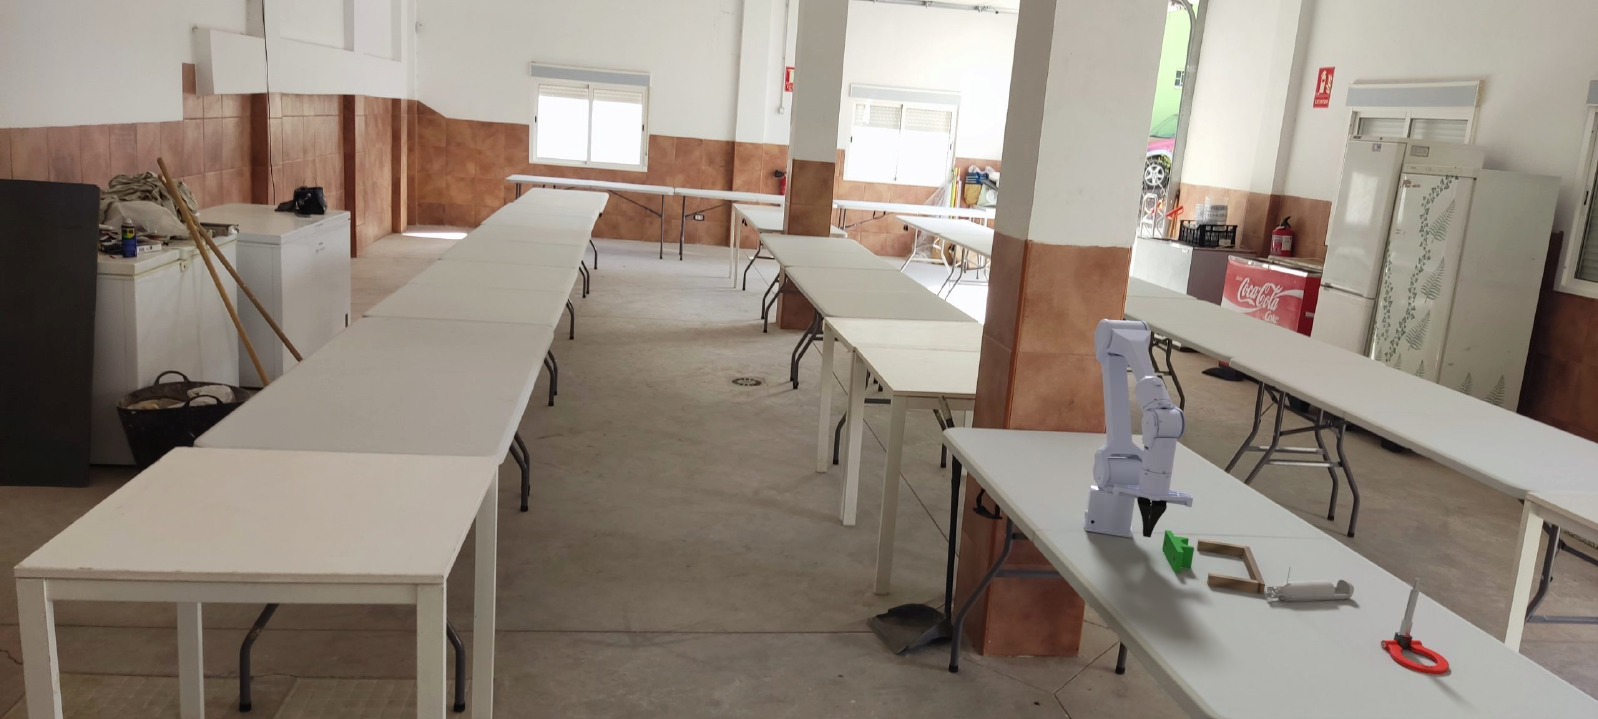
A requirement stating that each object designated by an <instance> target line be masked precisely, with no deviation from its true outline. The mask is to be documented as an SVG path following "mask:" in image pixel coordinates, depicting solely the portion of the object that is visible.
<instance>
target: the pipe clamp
mask: <svg viewBox="0 0 1598 719" xmlns="http://www.w3.org/2000/svg"><path fill="white" fill-rule="evenodd" d="M1162 542H1163V543H1162V548H1161V549H1162V550H1163V551H1162V553H1163V552H1164V553H1163V554H1165V555H1164V556H1166V557H1165V558H1166V560H1167V563H1168V564H1169V565H1171V566H1170V567H1172V568H1171V569H1172V572H1173V573H1174V572H1175V574H1181V571H1182V569H1191V568H1192V563H1193V556H1194V551H1195V547H1194V546H1193V545H1189V537H1183V536H1175V535H1174V533H1173V532H1172V530H1167V529H1165V530H1164V537H1163V541H1162ZM1181 567H1182V568H1181Z"/></svg>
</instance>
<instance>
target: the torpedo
mask: <svg viewBox="0 0 1598 719" xmlns="http://www.w3.org/2000/svg"><path fill="white" fill-rule="evenodd" d="M1288 567H1289V569H1288V574H1287V580H1285V581H1282V582H1281V583H1279V585H1272V586H1267V588H1266V589H1265V588H1264V591H1266V594H1265V598H1266V599H1281V601H1286V602H1309V601H1311V602H1312V601H1313V602H1314V601H1315V602H1316V601H1334V600H1335V601H1336V600H1347V599H1350V598H1351V597H1352V596H1353V594H1354V591H1355V587H1354V585H1353V584H1352V583H1351V582H1350V581H1348V580H1345V579H1339V580H1338V581H1337V583H1336V586H1334V584H1333V583H1332V582H1331V581H1330V580H1327V579H1312V580H1311V579H1310V580H1309V579H1308V580H1290V581H1289V578H1290V572H1291V568H1292V567H1291V566H1288Z"/></svg>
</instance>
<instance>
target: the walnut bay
mask: <svg viewBox="0 0 1598 719" xmlns="http://www.w3.org/2000/svg"><path fill="white" fill-rule="evenodd" d="M1196 544H1197V545H1196V549H1197V551H1200V552H1206V553H1213V554H1219V555H1224V554H1225V555H1226V556H1230V557H1231V556H1232V557H1238V558H1242V560H1243V563H1244V566H1245V568H1246V570H1247V572H1248V573H1247V574H1248V575H1249V578H1250V579H1249V578H1244V577H1236V576H1231V575H1226V574H1225V575H1224V574H1218V573H1212V572H1208V575H1207V579H1206V580H1207V582H1206V584H1207V586H1210V587H1216V588H1223V589H1230V590H1234V591H1241V592H1245V593H1246V592H1247V593H1252V594H1259V595H1264V593H1265V588H1266V587H1265V586H1266V583H1265V580H1264V578H1263V575H1262V573H1261V571H1260V569H1259V566H1258V563H1257V562H1256V560H1255V557H1254V554H1253V552H1252V550H1251V547H1250V546H1246V545H1242V544H1241V545H1240V544H1235V543H1228V542H1221V541H1214V540H1207V539H1202V538H1198V539H1197V543H1196Z"/></svg>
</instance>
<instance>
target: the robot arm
mask: <svg viewBox="0 0 1598 719" xmlns="http://www.w3.org/2000/svg"><path fill="white" fill-rule="evenodd" d="M1093 336H1094V337H1093V338H1094V351H1095V360H1096V361H1098V362H1099V363H1101V371H1102V388H1103V402H1104V403H1103V404H1104V405H1103V406H1104V417H1105V431H1106V432H1105V433H1106V443H1104V444H1103V445H1102V446H1101V447H1099V448H1098V449H1097V450H1096V451H1095V452H1094V461H1093V462H1094V463H1093V468H1092V475H1093V480H1094V482H1095V484H1096V485H1093V484H1090V486H1089V491H1088V497H1087V505H1086V509H1085V511H1084V522H1085V523H1084V524H1085V526H1084V527H1085V531H1086V532H1092V533H1098V534H1105V535H1110V536H1111V535H1112V536H1118V537H1124V538H1129V539H1130V538H1132V539H1133V538H1134V532H1133V526H1132V522H1133V516H1134V515H1133V514H1134V509H1135V508H1134V507H1135V501H1137V505H1138V509H1139V511H1140V516H1141V520H1142V536H1143V538H1151V537H1152V535H1153V531H1154V529H1155V527H1156V525H1157V523H1158V522H1159V519H1161V517H1162V516H1163V514H1164V513H1165V512H1166V510H1167V508H1168V506H1167V504H1173V505H1175V504H1176V505H1179V506H1180V505H1181V506H1185V507H1187V508H1192V506H1193V503H1194V502H1193V500H1194V497H1193V494H1189V493H1184V492H1179V491H1175V490H1172V489H1171V490H1170V487H1171V481H1172V474H1173V470H1174V469H1173V468H1174V467H1173V466H1174V461H1175V456H1176V455H1175V454H1176V448H1177V440H1178V439H1179V440H1180V439H1181V438H1182V437H1183V435H1184V434H1185V432H1186V417H1185V413H1184V412H1183V410H1182V409H1181V408H1178V406H1177V405H1176V404H1173V403H1172V399H1171V397H1170V395H1169V392H1168V389H1167V387H1166V385H1165V382H1164V380H1163V379H1162V378H1161V377H1158V376H1156V374H1155V369H1154V366H1153V363H1152V359H1151V355H1150V352H1149V347H1150V343H1151V328H1150V326H1149V324H1148V323H1147V322H1146V321H1145V320H1123V319H1122V320H1118V319H1116V320H1115V319H1108V318H1102V319H1101V320H1100V321H1099V322H1098V324H1097V326H1096V328H1095V330H1094V335H1093ZM1128 367H1129V368H1130V370H1131V372H1132V374H1133V375H1134V377H1135V380H1136V382H1137V383H1136V385H1135V386H1134V392H1135V393H1134V394H1135V395H1136V398H1137V401H1138V403H1139V406H1140V408H1141V412H1142V415H1143V417H1142V418H1141V430H1142V438H1141V442H1142V444H1143V449H1141V448H1140V447H1139V446H1138V445H1137V444H1135V443H1134V442H1133V435H1132V422H1131V421H1132V420H1131V408H1130V394H1129V392H1130V391H1129V382H1128V381H1129V380H1128Z"/></svg>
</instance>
